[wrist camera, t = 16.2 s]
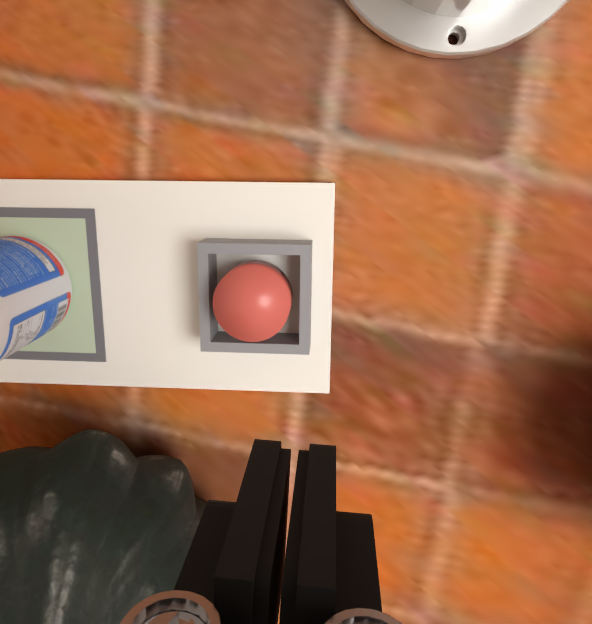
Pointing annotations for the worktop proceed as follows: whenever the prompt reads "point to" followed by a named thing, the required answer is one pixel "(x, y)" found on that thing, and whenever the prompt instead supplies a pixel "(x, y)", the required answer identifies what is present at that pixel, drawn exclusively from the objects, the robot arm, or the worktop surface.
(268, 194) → the white flat board
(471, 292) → the worktop surface
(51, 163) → the worktop surface
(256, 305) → the button
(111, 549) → the squash
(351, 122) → the worktop surface
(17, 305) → the pill bottle
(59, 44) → the worktop surface
